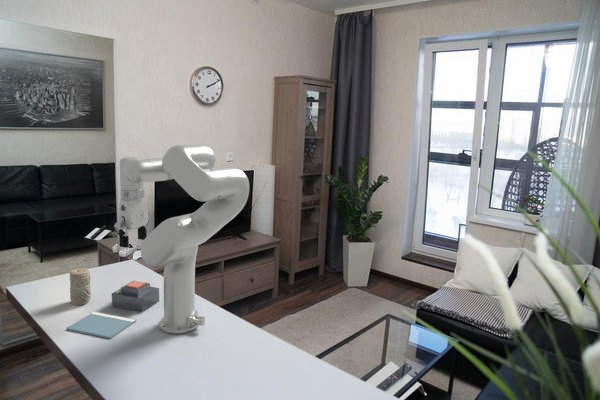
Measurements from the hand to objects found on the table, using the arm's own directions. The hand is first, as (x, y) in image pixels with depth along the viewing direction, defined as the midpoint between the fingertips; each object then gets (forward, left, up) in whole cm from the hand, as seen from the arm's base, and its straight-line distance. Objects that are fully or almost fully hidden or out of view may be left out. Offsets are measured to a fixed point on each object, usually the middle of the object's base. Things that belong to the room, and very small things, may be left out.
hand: (133, 243), depth 148 cm
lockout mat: (0, +17, -22) cm, 28 cm away
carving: (+18, +6, -23) cm, 29 cm away
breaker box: (0, 0, -22) cm, 22 cm away
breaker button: (0, 0, -17) cm, 17 cm away
